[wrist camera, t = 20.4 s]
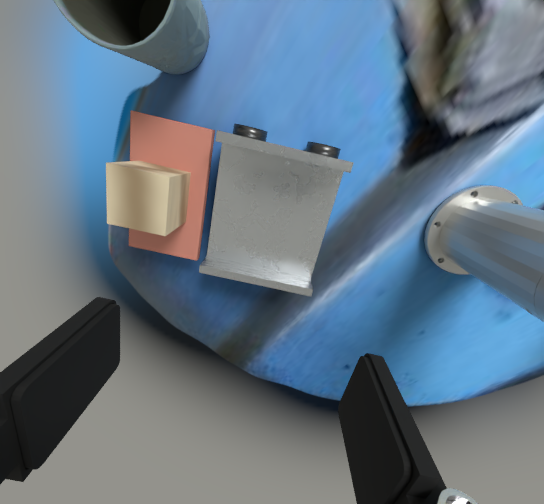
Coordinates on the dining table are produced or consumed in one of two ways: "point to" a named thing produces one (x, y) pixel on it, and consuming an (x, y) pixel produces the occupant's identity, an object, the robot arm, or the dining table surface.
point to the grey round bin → (144, 29)
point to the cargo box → (146, 196)
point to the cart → (271, 210)
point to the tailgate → (183, 156)
